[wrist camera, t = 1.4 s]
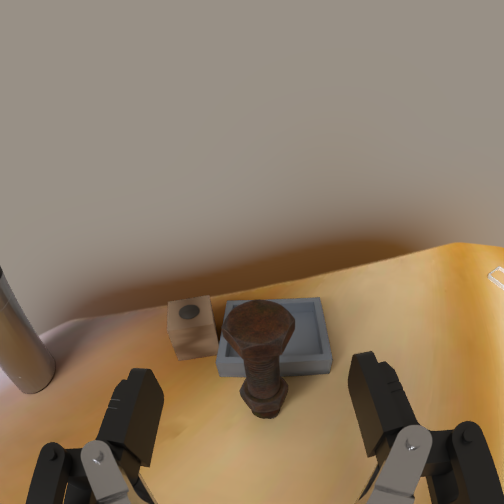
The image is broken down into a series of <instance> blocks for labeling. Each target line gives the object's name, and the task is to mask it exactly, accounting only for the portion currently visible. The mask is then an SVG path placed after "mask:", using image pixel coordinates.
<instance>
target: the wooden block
mask: <svg viewBox="0 0 504 504" xmlns="http://www.w3.org/2000/svg"><path fill="white" fill-rule="evenodd" d="M167 333H168V335H169V338H170V340H171V343H172V345H173V348H174V350H175V353H176V355H177V358H178V360H179V361H181V360H188V359H195V358H201V357H207V356H213V355H217V353H218V348H219V341H218V335H217V329H216V324H215V319H214V315H213V310H212V305H211V301H210V296H209V295H207V296H200V297H194V298H189V299H183V300H176V301H171V302H168V314H167Z"/></svg>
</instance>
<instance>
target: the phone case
mask: <svg viewBox="0 0 504 504" xmlns="http://www.w3.org/2000/svg"><path fill="white" fill-rule="evenodd" d="M496 270H497V271H498V270H499V271H501V272H503V273H504V269H503V268H502V267H500V266H499V267H497V268H496V269H495V270H493V271H492V272H491V273H489V274H488V279H489V280H491V281H492V282H493V283H495V284H496V285H497V286H499V287H500V288H501V289H502V290H504V285H503V284H502V283H500V282H499V281H498V280H496V279H495V278H493V277H492V276H491V274H492V273H493V272H494V271H496Z"/></svg>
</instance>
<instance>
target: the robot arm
mask: <svg viewBox="0 0 504 504" xmlns="http://www.w3.org/2000/svg"><path fill="white" fill-rule="evenodd" d="M0 367H1V368H2V370H3V371H4V372H5V373H6V375H7V376H8V377H9V378H10V379H11V380H12V382H13V383H14V384H15V385H16V386H17V387H18V388H19V389H20V390H21V391H22V392H24V393H27V394H32V393H36V392H38V391H40V390H42V389H43V388H44V387H45V386H46V385H47V384H48V383H49V382H50V380H51V379H52V377H53V375H54V371H55V361H54V359H53V357H52V356H51V354H50V353H49V351H48V350H47V349H46V347H45V346H44V344H43V343H42V341H41V339H40V338H39V336H38V335H37V333H36V332H35V330H34V329H33V327H32V325H31V324H30V322H29V320H28V319H27V317H26V315H25V314H24V312H23V310H22V308H21V306H20V305H19V303H18V301H17V299H16V298H15V295H14V293H13V292H12V290H11V288H10V286H9V284H8V282H7V280H6V278H5V275H4V274H3V271H2V269H1V267H0ZM348 388H349V393H350V396H351V399H352V403H353V406H354V410H355V413H356V417H357V420H358V424H359V427H360V431H361V434H362V438H363V442H364V446H365V449H366V453H367V457H372V456H375V455H376V458H377V461H378V463H377V464H376V466H375V468H374V470H373V472H372V474H371V476H370V478H369V480H368V482H367V483H366V485H365V487H364V489H363V490H362V492H361V494H360V496H359V497H358V499H357V500H356V502H355V503H354V504H413V503H414V499H415V497H414V491H415V488H416V486H417V484H418V481H419V479H420V477H425V476H426V480H427V484H428V488H429V493H430V497H431V502H432V504H504V495H503V491H502V487H501V484H500V480H499V477H498V474H497V471H496V468H495V465H494V462H493V459H492V456H491V453H490V450H489V448H488V445H487V442H486V440H485V437H484V435H483V432H482V430H481V428H480V427H479V425H477V424H476V423H474V422H471V421H465V422H462V423H460V424H459V425H458V426H457V427H456V428H455V429H454V430H443V431H430V430H427V429H426V428H425V427H423V426H421V425H420V424H419V423H418V422H417V420H416V417H415V415H414V413H413V410H412V408H411V406H410V403H409V401H408V399H407V396H406V394H405V392H404V390H403V387H402V385H401V383H400V382H399V379H398V376H397V374H396V372H395V370H394V369H393V368H392V367H391V366H390V365H389V364H388V363H387V362H386V361H384V362H380V363H378V362H377V359H376V357H375V355H374V353H373V352H372V351H369V352H364V353H359V354H354V355H353V357H352V361H351V366H350V371H349V376H348ZM163 404H164V394H163V391H162V389H161V387H160V385H159V383H158V381H157V379H156V378H155V376H154V374H153V372H152V370H151V369H141V368H133V369H131V371H130V373H129V376H128V379H127V380H122V381H121V382H120V383H119V384H118V385H117V386H116V388H115V389H114V392H113V395H112V397H111V400H110V402H109V405H108V408H107V410H106V413H105V416H104V419H103V421H102V424H101V427H100V430H99V433H98V436H97V438H96V440H94V441H90V442H88V443H87V444H86V445H85V446H84V447H83V448H78V449H64V448H63V447H62V446H61V445H59V444H58V443H55V442H50V443H47V444H46V445H44V446H43V448H42V449H41V451H40V454H39V457H38V460H37V464H36V467H35V470H34V474H33V477H32V481H31V484H30V488H29V492H28V496H27V500H26V504H63V498H64V494H65V489H66V485H67V483H68V485H67V490H66V494H65V499H64V504H158V503H157V501H156V500H155V498H154V496H153V495H152V493H151V491H150V490H149V488H148V486H147V485H146V483H145V481H144V479H143V478H142V476H141V474H140V473H139V470H140V466H145V467H150V463H151V458H152V453H153V448H154V444H155V439H156V434H157V430H158V425H159V421H160V417H161V412H162V408H163Z"/></svg>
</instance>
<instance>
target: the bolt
mask: <svg viewBox="0 0 504 504" xmlns="http://www.w3.org/2000/svg"><path fill="white" fill-rule="evenodd" d="M221 329H222V334H223V337H224V338H225V340H226V341H227V342H228V343H229V344H230V345H231V347H232V348H233V349H234V350H235V351H236V352H237V353H238V355H239V356H240V357H241V358H242V359H243V361H244V368H245V374H246V379H245V381H244V383H243V385H242V387H241V389H240V395H241V397H242V399H243V400H244V402H245V403H246V404H247V405H248V406H249V408H250V409H251V410H252V413H253V414H254V415H255V416H257V417H259V418H263V419H265V418H268V419H271V418H275V417H276V416H277V415H278V412H279V411H280V407H281V405H282V403H283V402H284V399H285V397H286V395H287V392H288V385H287V383H286V382H285V381H284V379H283V378H282V377H281V376H280V366H279V359H280V357H279V355H282V354H283V352H284V350H285V348H286V346H287V344H288V342H289V340H290V338H291V336H292V334H293V332H294V330H295V318H294V317H293V316H292V315H291V313H290V312H289V311H288V310H287V309H286V308H285V307H283V306H282V305H281V304H279V303H276V302H272V301H267V300H251V301H248V302H245V303H243V304H240V305H238V306H236V307H235V308H233V309H232V310H231V311H230V313H229V314H228V315H227V317H226V319H225V320H224V323H223V325H222V327H221Z"/></svg>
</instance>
